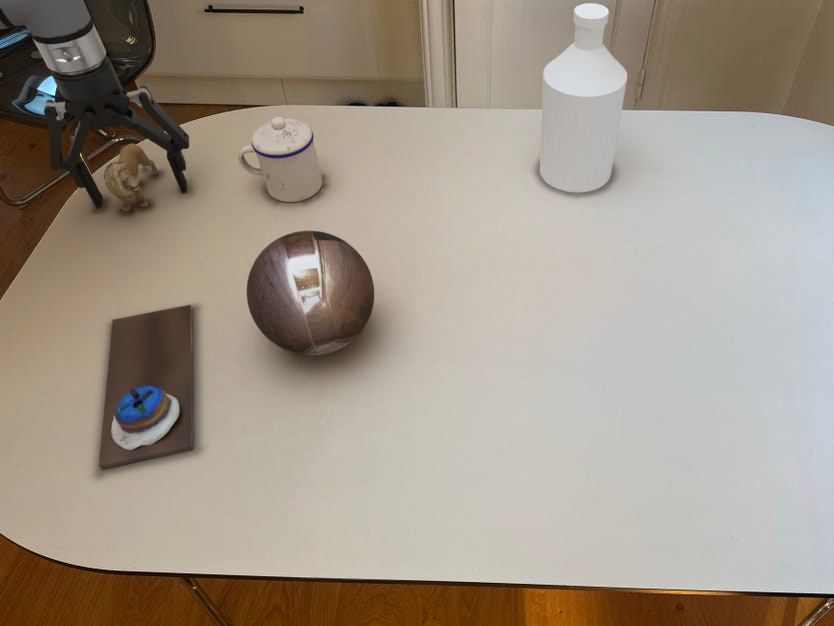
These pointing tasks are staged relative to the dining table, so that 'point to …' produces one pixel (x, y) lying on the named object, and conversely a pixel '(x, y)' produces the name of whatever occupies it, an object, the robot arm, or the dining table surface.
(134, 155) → the lion figurine
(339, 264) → the wooden sphere
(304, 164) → the teacup with lid
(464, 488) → the dining table surface
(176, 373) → the walnut board
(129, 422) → the dessert
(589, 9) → the bottle
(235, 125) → the dining table surface
